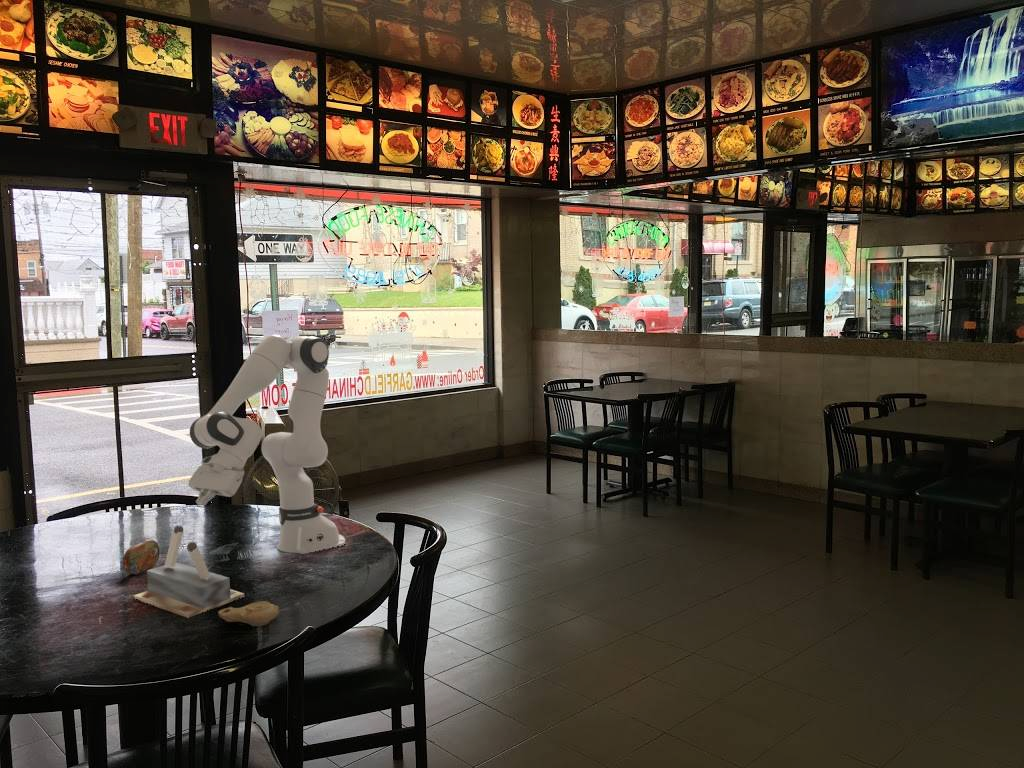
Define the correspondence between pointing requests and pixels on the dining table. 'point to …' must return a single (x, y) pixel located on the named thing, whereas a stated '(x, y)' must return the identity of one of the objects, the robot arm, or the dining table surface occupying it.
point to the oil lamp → (251, 613)
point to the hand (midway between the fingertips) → (199, 504)
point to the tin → (141, 557)
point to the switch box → (186, 590)
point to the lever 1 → (174, 546)
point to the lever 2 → (198, 561)
